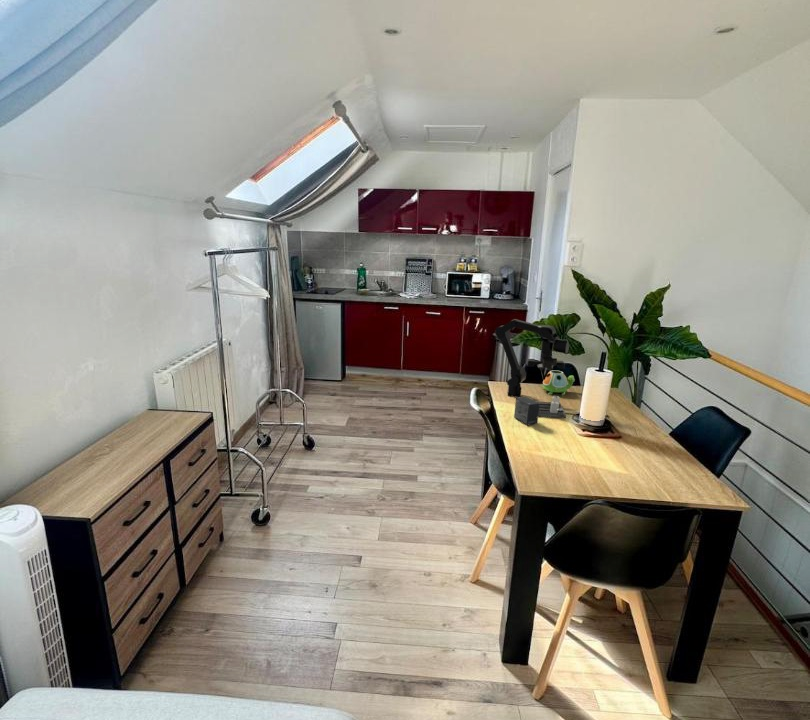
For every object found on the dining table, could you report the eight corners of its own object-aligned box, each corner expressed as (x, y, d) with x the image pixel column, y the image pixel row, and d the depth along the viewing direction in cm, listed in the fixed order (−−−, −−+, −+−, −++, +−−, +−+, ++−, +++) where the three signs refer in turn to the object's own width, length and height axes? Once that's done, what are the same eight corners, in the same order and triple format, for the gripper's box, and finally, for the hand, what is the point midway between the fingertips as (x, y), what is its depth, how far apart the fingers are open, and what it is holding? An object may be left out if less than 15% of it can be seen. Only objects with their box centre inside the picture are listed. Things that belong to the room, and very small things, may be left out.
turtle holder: (578, 395, 254) (581, 374, 251) (547, 396, 252) (549, 375, 249) (568, 388, 266) (570, 368, 263) (538, 388, 264) (540, 368, 261)
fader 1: (552, 407, 230) (553, 397, 229) (551, 405, 233) (552, 395, 232) (558, 407, 230) (559, 397, 228) (557, 405, 232) (558, 395, 231)
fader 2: (551, 413, 222) (552, 403, 221) (550, 410, 225) (551, 400, 224) (557, 413, 222) (558, 403, 220) (556, 411, 225) (557, 401, 223)
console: (533, 416, 223) (534, 411, 222) (529, 403, 240) (530, 399, 239) (566, 418, 221) (566, 414, 220) (559, 405, 238) (560, 401, 237)
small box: (538, 424, 213) (540, 402, 211) (526, 426, 211) (528, 404, 208) (524, 416, 223) (526, 395, 220) (513, 417, 220) (515, 397, 218)
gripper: (529, 353, 230) (527, 382, 234) (568, 355, 228) (565, 385, 232) (527, 348, 241) (524, 376, 245) (564, 350, 238) (561, 378, 242)
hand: (543, 379), depth 241 cm, fingers closed
